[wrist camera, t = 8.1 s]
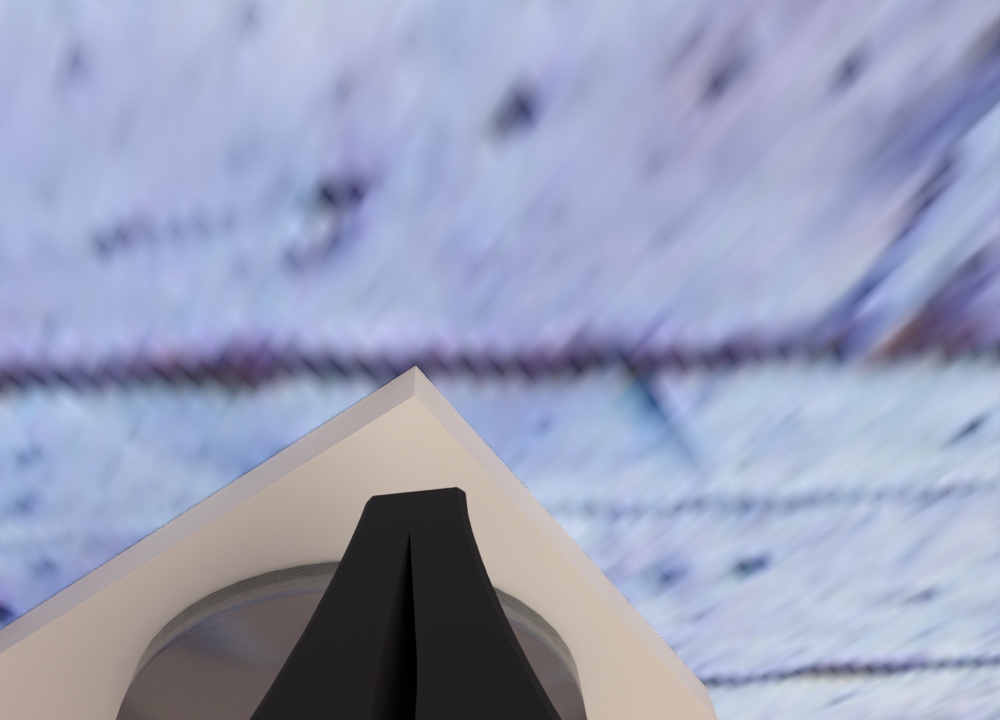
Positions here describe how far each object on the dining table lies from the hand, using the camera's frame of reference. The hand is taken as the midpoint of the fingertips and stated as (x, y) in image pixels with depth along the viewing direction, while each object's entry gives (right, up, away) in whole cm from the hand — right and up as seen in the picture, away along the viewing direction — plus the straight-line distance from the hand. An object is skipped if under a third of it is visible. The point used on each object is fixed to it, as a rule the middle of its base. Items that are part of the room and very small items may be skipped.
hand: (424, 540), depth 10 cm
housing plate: (-4, -9, +16) cm, 19 cm away
